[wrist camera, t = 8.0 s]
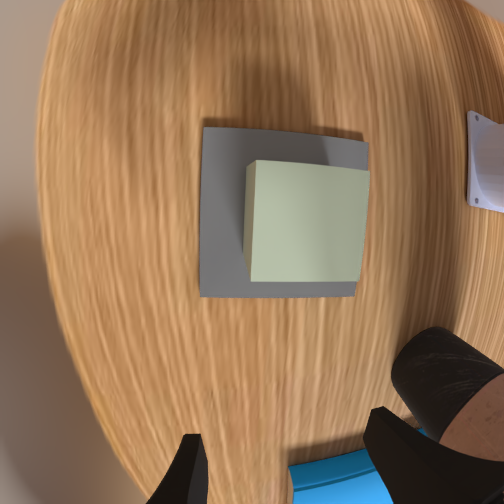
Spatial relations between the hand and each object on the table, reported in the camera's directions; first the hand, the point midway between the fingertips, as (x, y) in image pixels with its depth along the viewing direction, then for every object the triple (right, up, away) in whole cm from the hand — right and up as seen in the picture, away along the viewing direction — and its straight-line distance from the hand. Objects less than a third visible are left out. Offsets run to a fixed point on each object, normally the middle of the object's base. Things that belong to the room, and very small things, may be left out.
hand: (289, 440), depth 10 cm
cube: (+1, +10, +7) cm, 12 cm away
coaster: (0, +10, +7) cm, 12 cm away
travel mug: (+14, -2, +12) cm, 18 cm away
